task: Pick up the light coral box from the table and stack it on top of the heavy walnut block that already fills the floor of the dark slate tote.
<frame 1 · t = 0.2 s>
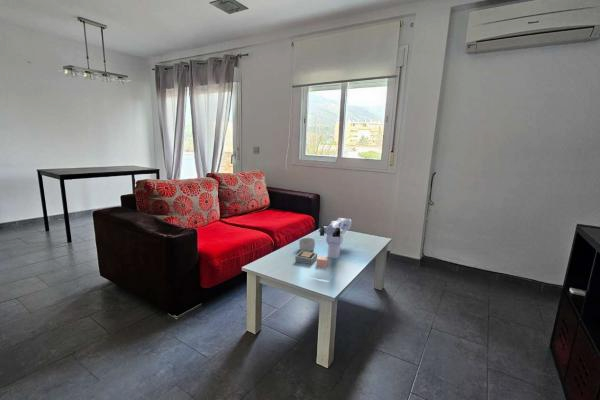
hand: (326, 234, 162), 21 cm above the table, tool horizontal, fingers open, 7 cm apart
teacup: (307, 250, 195), on the table
coral box: (322, 266, 170), on the table
tote: (306, 261, 176), on the table
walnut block: (306, 260, 176), point 1 cm above the table, touching tote
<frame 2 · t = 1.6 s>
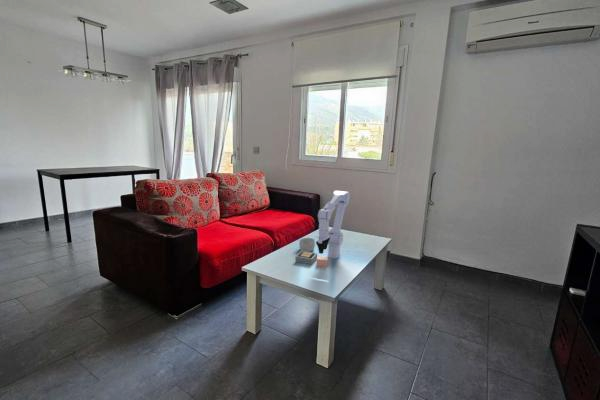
hand: (322, 251, 168), 9 cm above the table, tool pointing down, fingers open, 7 cm apart
nothing on the table moved.
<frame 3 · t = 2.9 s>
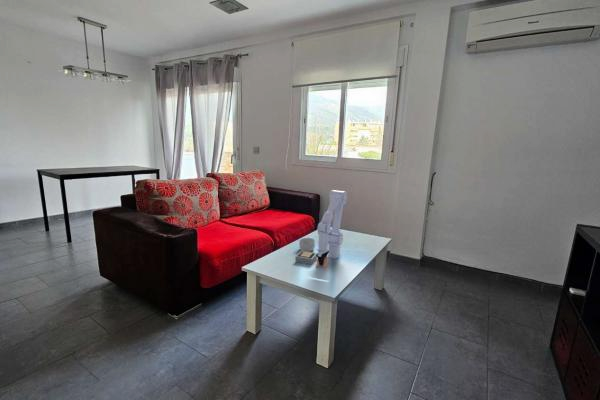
hand: (322, 263, 170), 1 cm above the table, tool pointing down, fingers closed on coral box, 4 cm apart
coral box: (322, 265, 170), on the table, touching gripper
everything else where it was.
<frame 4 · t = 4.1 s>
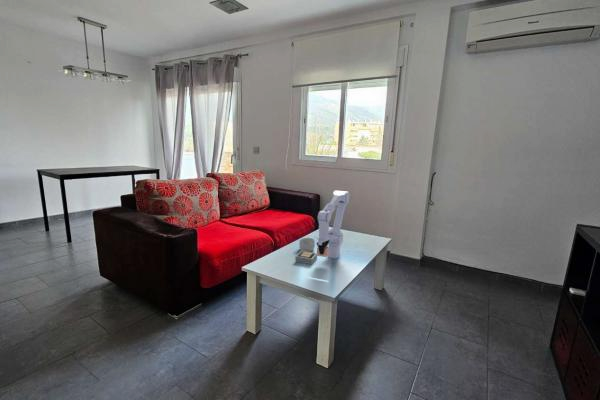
hand: (322, 252, 169), 8 cm above the table, tool pointing down, fingers closed on coral box, 4 cm apart
coral box: (322, 255, 169), point 7 cm above the table, touching gripper
everything else where it was.
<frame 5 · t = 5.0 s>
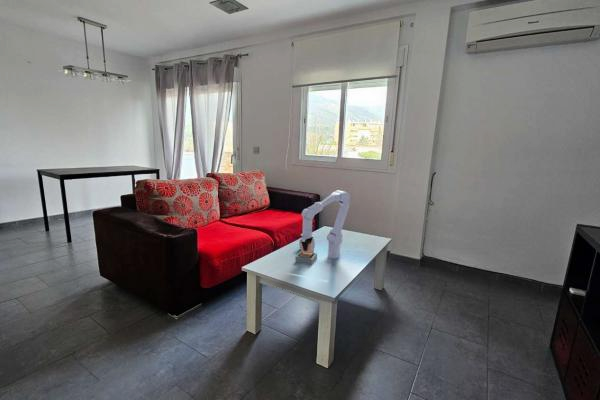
hand: (306, 249, 174), 8 cm above the table, tool pointing down, fingers closed on coral box, 4 cm apart
coral box: (306, 251, 175), point 7 cm above the table, touching gripper
everything else where it was.
when the fingers open (8 cm above the table, at t = 5.6 s): coral box drops 1 cm, resting on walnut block.
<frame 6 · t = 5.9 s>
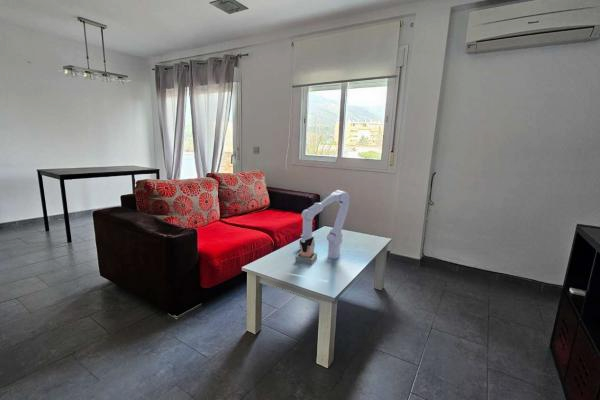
hand: (306, 249, 174), 8 cm above the table, tool pointing down, fingers open, 7 cm apart
coral box: (306, 254, 175), point 5 cm above the table, touching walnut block
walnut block: (306, 260, 176), point 1 cm above the table, touching coral box, tote
everything else where it was.
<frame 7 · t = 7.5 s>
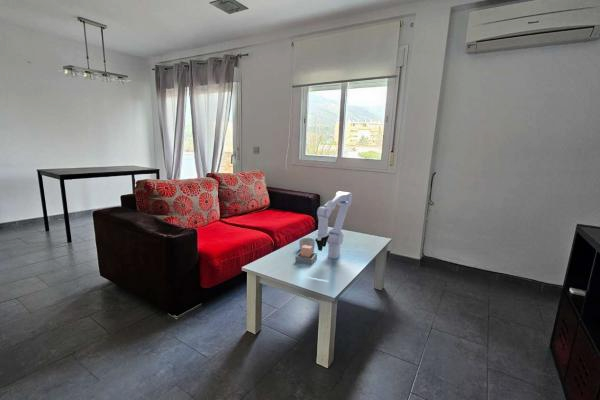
hand: (321, 248, 170), 10 cm above the table, tool pointing down, fingers open, 7 cm apart
nothing on the table moved.
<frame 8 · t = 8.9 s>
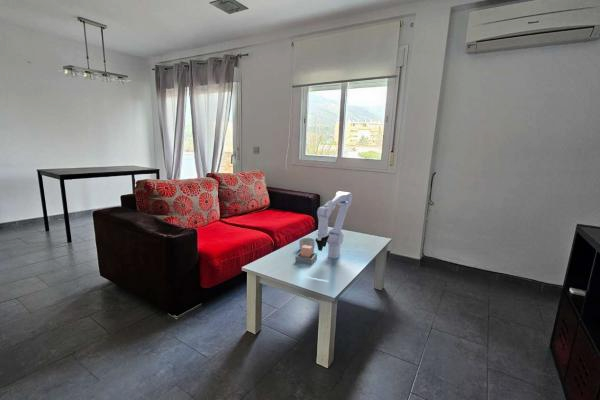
hand: (321, 248, 170), 10 cm above the table, tool pointing down, fingers open, 7 cm apart
nothing on the table moved.
at the end: coral box 0.2 cm off-centre on the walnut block, point 4.0 cm above the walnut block's base; coral box tilted 0°; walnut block 0.0 cm off-centre on the tote, point 0.8 cm above the tote's base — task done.
